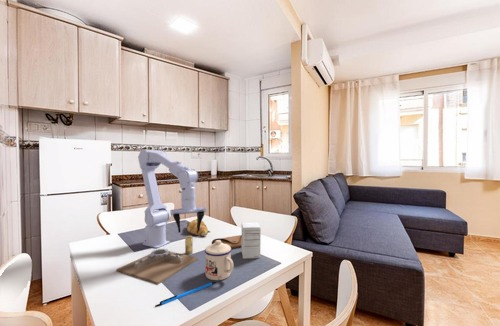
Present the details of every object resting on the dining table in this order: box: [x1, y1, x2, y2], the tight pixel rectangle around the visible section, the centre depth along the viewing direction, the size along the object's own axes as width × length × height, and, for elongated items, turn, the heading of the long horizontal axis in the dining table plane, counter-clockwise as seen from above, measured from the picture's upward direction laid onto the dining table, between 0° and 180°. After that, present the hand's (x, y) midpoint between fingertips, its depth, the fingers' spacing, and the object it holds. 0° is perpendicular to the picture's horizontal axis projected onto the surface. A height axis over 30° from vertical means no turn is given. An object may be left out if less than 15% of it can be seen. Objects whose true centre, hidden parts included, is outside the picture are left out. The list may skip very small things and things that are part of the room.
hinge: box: [135, 248, 182, 269], centre depth 86 cm, size 14×14×2 cm
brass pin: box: [184, 235, 194, 256], centre depth 96 cm, size 3×3×7 cm
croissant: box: [186, 218, 209, 237], centre depth 125 cm, size 21×10×8 cm, turn 40°
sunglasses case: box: [211, 234, 242, 251], centre depth 105 cm, size 18×7×7 cm, turn 121°
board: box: [116, 250, 199, 285], centre depth 86 cm, size 20×20×1 cm
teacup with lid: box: [204, 240, 235, 281], centre depth 78 cm, size 12×9×12 cm
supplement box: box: [241, 221, 262, 259], centre depth 95 cm, size 7×7×13 cm
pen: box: [154, 281, 217, 308], centre depth 68 cm, size 1×19×1 cm, turn 130°
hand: (188, 230), depth 96 cm, fingers open, 7 cm apart
